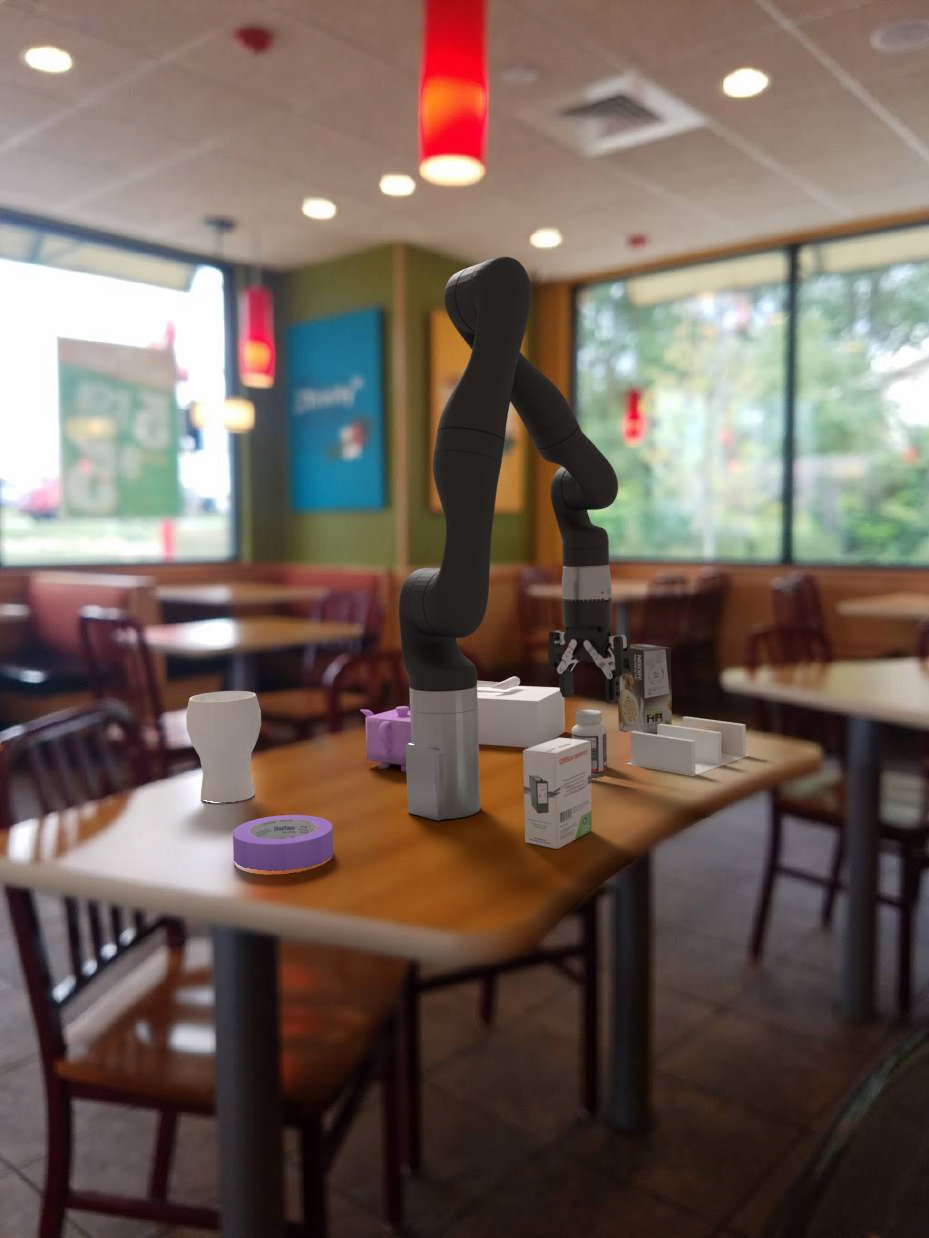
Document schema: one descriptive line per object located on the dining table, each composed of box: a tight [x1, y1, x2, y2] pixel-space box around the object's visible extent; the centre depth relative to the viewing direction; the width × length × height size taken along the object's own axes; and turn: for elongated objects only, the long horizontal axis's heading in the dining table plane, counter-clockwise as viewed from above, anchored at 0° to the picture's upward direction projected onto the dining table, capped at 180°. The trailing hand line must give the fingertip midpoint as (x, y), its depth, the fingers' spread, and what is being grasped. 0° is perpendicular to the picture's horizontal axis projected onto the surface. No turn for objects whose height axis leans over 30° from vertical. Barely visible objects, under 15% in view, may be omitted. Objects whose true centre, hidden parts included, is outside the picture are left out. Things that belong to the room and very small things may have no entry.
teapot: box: [360, 705, 411, 773], centre depth 158 cm, size 18×13×10 cm
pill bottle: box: [571, 709, 608, 778], centre depth 149 cm, size 5×5×10 cm
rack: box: [626, 716, 750, 777], centre depth 153 cm, size 17×12×6 cm
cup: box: [185, 690, 262, 803], centre depth 141 cm, size 11×11×15 cm
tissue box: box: [477, 676, 566, 749], centre depth 179 cm, size 14×25×11 cm, turn 66°
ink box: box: [522, 737, 593, 850], centre depth 119 cm, size 9×5×12 cm, turn 142°
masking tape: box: [232, 814, 334, 871], centre depth 114 cm, size 12×12×4 cm
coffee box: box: [617, 643, 673, 734], centre depth 179 cm, size 9×6×16 cm
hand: (589, 699), depth 149 cm, fingers open, 8 cm apart
